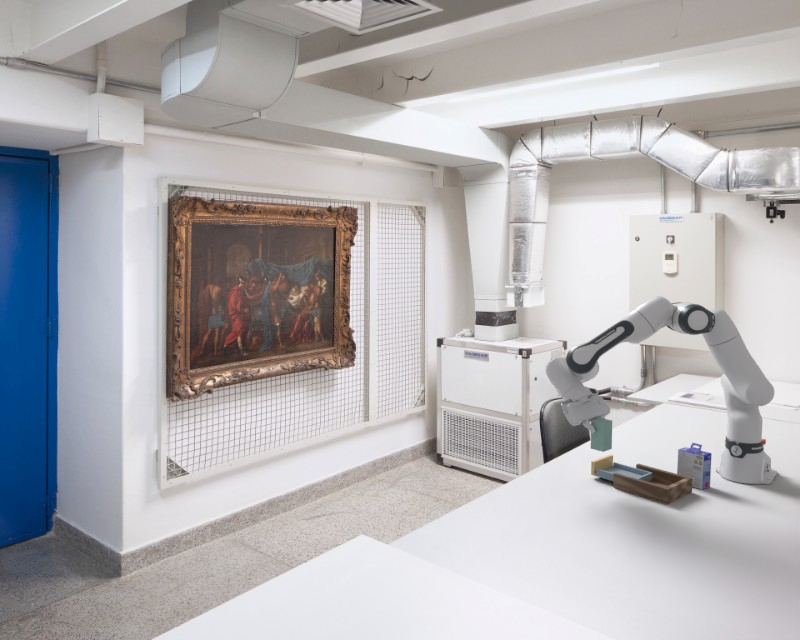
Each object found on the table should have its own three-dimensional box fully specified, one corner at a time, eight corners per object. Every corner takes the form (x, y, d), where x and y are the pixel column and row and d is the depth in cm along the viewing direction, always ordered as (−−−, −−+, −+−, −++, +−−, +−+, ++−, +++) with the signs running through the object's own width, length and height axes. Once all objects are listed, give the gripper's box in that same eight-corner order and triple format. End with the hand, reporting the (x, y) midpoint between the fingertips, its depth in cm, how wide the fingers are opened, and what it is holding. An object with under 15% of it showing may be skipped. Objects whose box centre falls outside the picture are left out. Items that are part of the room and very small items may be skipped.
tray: (610, 467, 243) (610, 454, 242) (652, 479, 229) (653, 466, 229) (591, 474, 235) (591, 461, 235) (634, 487, 222) (634, 473, 221)
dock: (638, 476, 236) (638, 463, 236) (691, 492, 221) (692, 478, 220) (613, 487, 226) (613, 473, 226) (667, 504, 211) (668, 489, 210)
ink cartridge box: (711, 486, 226) (712, 446, 224) (703, 490, 222) (704, 449, 221) (684, 479, 233) (685, 439, 232) (675, 482, 230) (677, 442, 229)
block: (599, 445, 227) (599, 417, 226) (611, 448, 223) (612, 420, 222) (590, 448, 224) (591, 420, 223) (603, 451, 220) (603, 423, 219)
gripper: (564, 397, 221) (588, 431, 215) (599, 388, 234) (622, 420, 227) (553, 407, 225) (576, 441, 218) (588, 398, 238) (611, 429, 231)
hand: (600, 430), depth 223 cm, fingers closed on block, 5 cm apart
